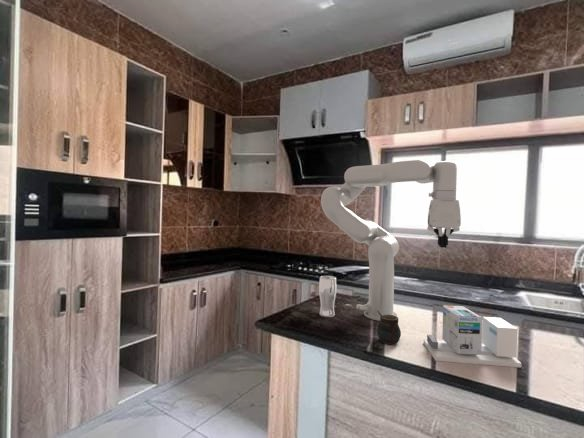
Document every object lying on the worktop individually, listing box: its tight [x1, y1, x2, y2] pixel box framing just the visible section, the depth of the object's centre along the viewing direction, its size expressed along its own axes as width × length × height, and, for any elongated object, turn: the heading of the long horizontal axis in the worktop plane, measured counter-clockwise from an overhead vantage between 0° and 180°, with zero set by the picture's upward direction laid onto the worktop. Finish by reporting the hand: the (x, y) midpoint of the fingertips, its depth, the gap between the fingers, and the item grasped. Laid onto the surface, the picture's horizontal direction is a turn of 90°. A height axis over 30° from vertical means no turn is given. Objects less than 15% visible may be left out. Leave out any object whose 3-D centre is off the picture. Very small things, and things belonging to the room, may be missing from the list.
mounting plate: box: [423, 334, 522, 368], centre depth 93 cm, size 22×12×4 cm, turn 82°
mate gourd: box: [376, 311, 402, 345], centre depth 100 cm, size 7×8×10 cm
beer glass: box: [318, 275, 338, 318], centre depth 126 cm, size 7×7×15 cm
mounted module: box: [482, 316, 518, 358], centre depth 91 cm, size 5×9×8 cm, turn 172°
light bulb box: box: [441, 304, 483, 355], centre depth 93 cm, size 11×7×11 cm, turn 178°
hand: (442, 247), depth 114 cm, fingers closed
